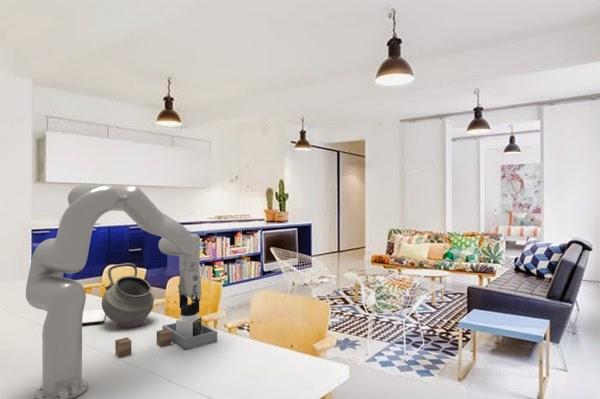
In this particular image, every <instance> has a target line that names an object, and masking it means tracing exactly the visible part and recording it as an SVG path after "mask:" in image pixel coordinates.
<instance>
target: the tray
mask: <svg viewBox="0 0 600 399" xmlns="http://www.w3.org/2000/svg"><path fill="white" fill-rule="evenodd" d="M163 329H168V330H170V331H171V343H173V342H174V343H173V344H177V346H178V347H179V348H181V349H182V350H184V351H185V350H190V349H194V348H198V347H202V346H206V345H210V344H213V343H214V344H215V343H218V331H217V330H216V329H213V328H211V327H210V326H207V325H205V324H203V323H201V334H200V335H197V336H193V337H188V338H185V337H184V336H182V335H180V334H179V333H177V332H176V322H174V323H173V322H172V323H168V324H164V325H162V329H161V330H163Z"/></svg>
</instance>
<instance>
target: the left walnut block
mask: <svg viewBox="0 0 600 399" xmlns="http://www.w3.org/2000/svg"><path fill="white" fill-rule="evenodd" d="M114 342H115V346H114V347H115V350H114V351H115V353H114V354H115V355H116V357H118V358H124V357H128V356H131V355H132V339H130V338H129V337H124V338H118V339H115V340H114Z"/></svg>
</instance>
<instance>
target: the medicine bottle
mask: <svg viewBox="0 0 600 399" xmlns="http://www.w3.org/2000/svg"><path fill="white" fill-rule="evenodd" d="M175 323H176V332H177V333H179V334H180V335H182V336H184V337H185V338H188V337H193V336H197V335H200V334H201V324H202V316H201V315H198V313H194V314H191V303H189V304H187V305H183V306H182V307H181V308H180V317H179V318H178V319H176V320H175Z"/></svg>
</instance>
